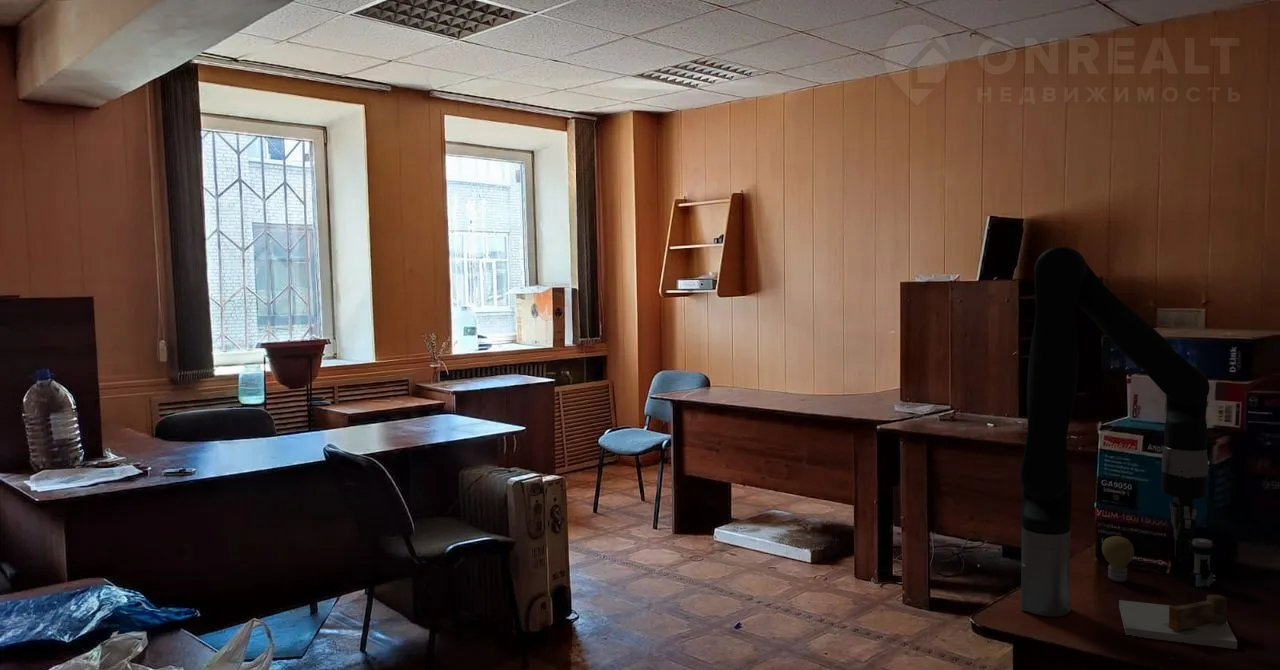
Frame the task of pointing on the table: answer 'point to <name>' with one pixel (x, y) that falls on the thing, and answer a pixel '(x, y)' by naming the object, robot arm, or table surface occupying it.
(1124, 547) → the light bulb
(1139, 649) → the table surface
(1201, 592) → the table surface
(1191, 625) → the peg lever
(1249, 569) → the table surface
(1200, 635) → the plate
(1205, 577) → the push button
